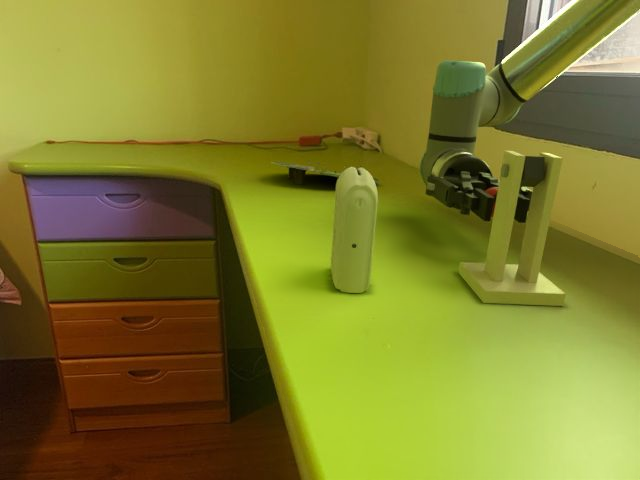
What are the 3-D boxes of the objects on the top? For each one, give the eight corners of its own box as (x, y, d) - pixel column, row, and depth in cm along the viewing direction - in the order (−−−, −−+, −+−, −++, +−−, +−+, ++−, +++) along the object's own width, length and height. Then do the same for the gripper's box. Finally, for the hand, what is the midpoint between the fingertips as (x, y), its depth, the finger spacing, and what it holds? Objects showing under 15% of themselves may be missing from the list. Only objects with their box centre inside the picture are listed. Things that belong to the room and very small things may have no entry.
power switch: (458, 273, 86) (477, 145, 79) (528, 276, 86) (554, 149, 79) (483, 303, 75) (508, 159, 68) (563, 306, 76) (596, 163, 69)
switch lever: (475, 219, 88) (476, 191, 88) (502, 220, 89) (504, 192, 89) (517, 183, 73) (518, 149, 73) (550, 185, 74) (551, 151, 73)
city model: (404, 196, 146) (409, 166, 143) (333, 192, 128) (338, 157, 126) (316, 181, 160) (320, 153, 158) (242, 175, 143) (245, 144, 141)
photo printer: (372, 294, 76) (383, 176, 70) (333, 293, 75) (341, 174, 69) (363, 269, 85) (372, 162, 79) (328, 268, 84) (335, 160, 79)
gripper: (511, 208, 105) (567, 245, 84) (403, 203, 104) (433, 239, 83) (520, 156, 101) (582, 180, 81) (409, 149, 100) (442, 173, 79)
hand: (506, 210), depth 82 cm, fingers closed on switch lever, 4 cm apart
